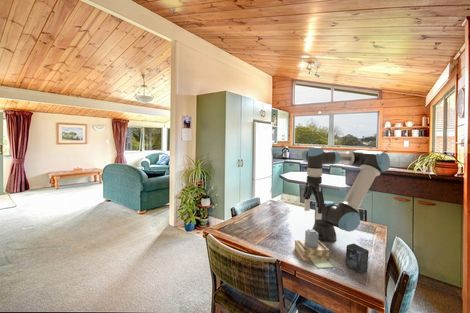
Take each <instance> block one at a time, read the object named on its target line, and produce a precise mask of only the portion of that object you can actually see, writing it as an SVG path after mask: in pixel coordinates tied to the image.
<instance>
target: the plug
mask: <svg viewBox="0 0 470 313" xmlns="http://www.w3.org/2000/svg"><path fill="white" fill-rule="evenodd" d="M318 235H319V234H318V233H317V232H316V231H315V230H314V229H312V228H311V229H310V228H309V229H305V235H304V236H305V238H304V240H305V244H306V245H307V247H308V248H316V247H318Z"/></svg>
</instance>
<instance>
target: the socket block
mask: <svg viewBox="0 0 470 313" xmlns="http://www.w3.org/2000/svg"><path fill="white" fill-rule="evenodd" d="M294 250H295V252H297V254H298V255H299V256H300V257H301V259H302V261H311V259H326V260H329V259H330V249H329V248H328V247H327V246H326V245H325V244H323V242H322V241H320V240H318V247H316V248H308V247H307V245H306V244H305V239H297V240H295V239H294Z"/></svg>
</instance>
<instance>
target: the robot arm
mask: <svg viewBox="0 0 470 313" xmlns="http://www.w3.org/2000/svg"><path fill="white" fill-rule="evenodd" d="M301 158H302V160H303V161H304V162H307V167H306V183H305V188H304V191H303V194H302V197H303V198H304V211H305V212H309V211H310V210H311V208H310V206H311V196H312V195H313V196H314V199H315V206H314V223H313V224H314V225H313V227H312V228H311V229H314V230H315V231H316V232H317V233H318V234H319V235H318V240H319V241H320V242H325V243H326V242H328V243H330V242H334V241H336V240H337V233H336V229H335V228H338V229H340V230H341V231H345V232H348V233H349V232H350V233H351V232H353V231H355V230H357V229H358V228H359V226H360V223H361V216H360V210H359V208H360V206H361V205H362V203H363V201H364V199H365V198H366V195H367V194H368V191H369V190H370V188H371V186H372V184H373V182H374V180H375V178H376V177H378V176H381V173H382V172H387V171H388V170H389V169H390V166H391V158H390V155H389V154H388V153H387V152H385V151H381V150H377V151H376V150H375V151H373V150H346V151H337V150H325V149H324V148H323V147H321V146H310V147H309V148H307V149H304V150H303V151H302V153H301ZM337 164H341V165H342V164H343V165H345V166H351V167H355V168H359V169H360V171H359V172H358V175H357V176H356V178H355V180H354V182H353V183H352V186H350V189H349V190H348V193H347V194H346V196H345V198H344V200H343V201H341V202H339V203H338V205H337V206H336V203H335V201H331V200H325V199H324V198H325V197H324V193H323V192H324V191H323V187H322V186H321V187H320V185H321V184H322V180H323V178H322V177H323V165H337Z"/></svg>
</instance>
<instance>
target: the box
mask: <svg viewBox="0 0 470 313" xmlns="http://www.w3.org/2000/svg"><path fill="white" fill-rule="evenodd" d="M368 263H369V249H366V248H365V247H362V246H360V245H358V244H356V243H355V242H354V243H351V244H347V245H346V251H345V266H347V267H348V268H350V269H352V270H353V271H355V272H356V273H358V274H362V273H363V274H364V273H366V272H368V267H369V266H368V265H369V264H368Z"/></svg>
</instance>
